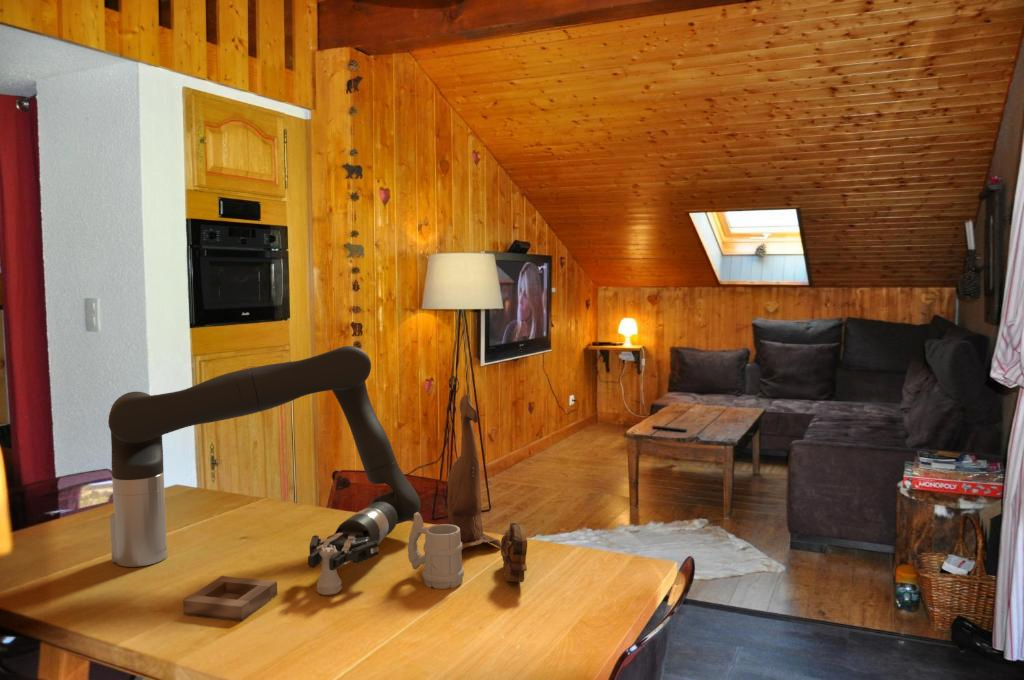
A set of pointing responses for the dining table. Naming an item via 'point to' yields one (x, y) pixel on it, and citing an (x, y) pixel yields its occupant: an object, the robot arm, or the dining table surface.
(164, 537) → the robot arm
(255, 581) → the square tray
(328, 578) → the rook chess piece
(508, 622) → the dining table surface
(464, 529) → the bird sculpture
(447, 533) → the mug
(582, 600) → the dining table surface
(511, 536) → the wooden carving
